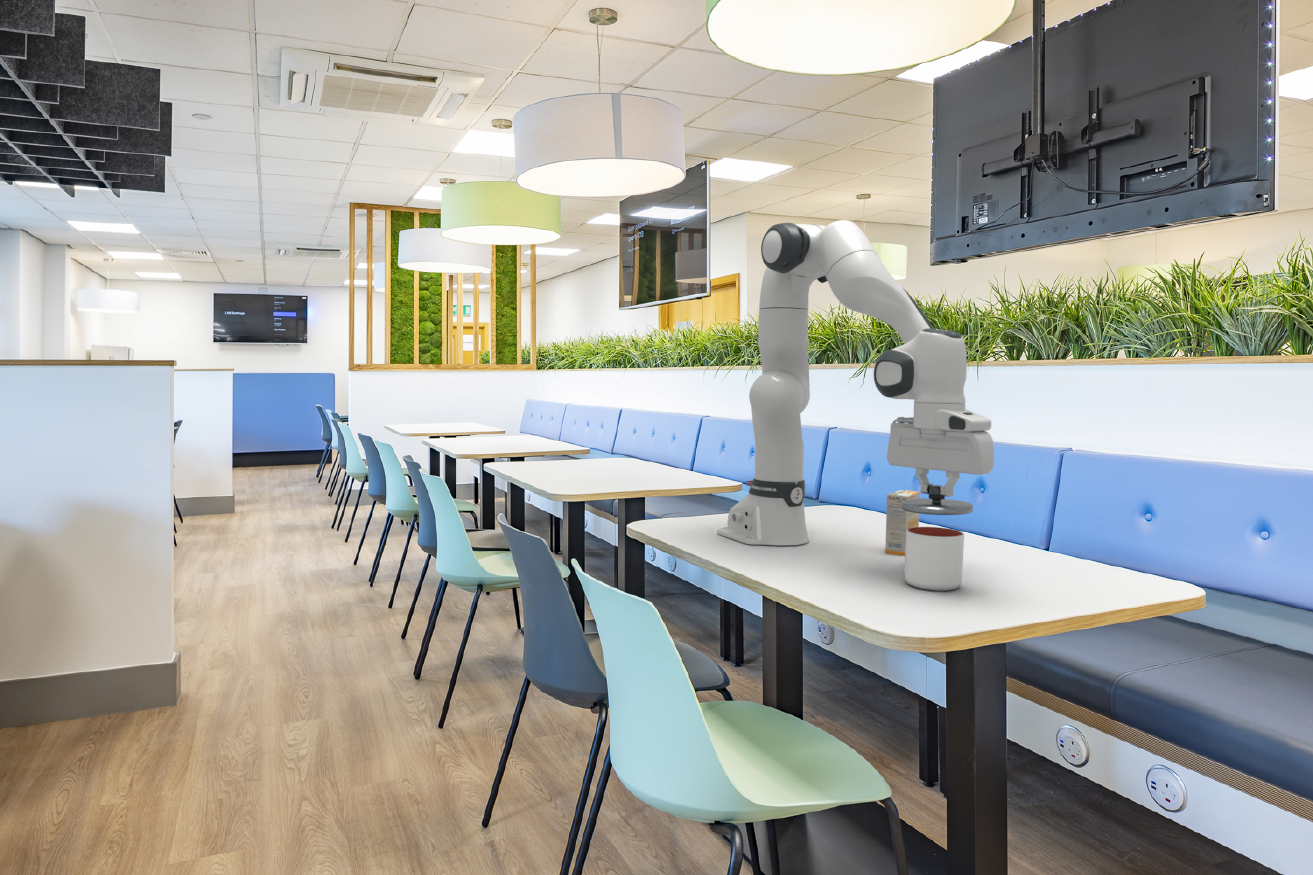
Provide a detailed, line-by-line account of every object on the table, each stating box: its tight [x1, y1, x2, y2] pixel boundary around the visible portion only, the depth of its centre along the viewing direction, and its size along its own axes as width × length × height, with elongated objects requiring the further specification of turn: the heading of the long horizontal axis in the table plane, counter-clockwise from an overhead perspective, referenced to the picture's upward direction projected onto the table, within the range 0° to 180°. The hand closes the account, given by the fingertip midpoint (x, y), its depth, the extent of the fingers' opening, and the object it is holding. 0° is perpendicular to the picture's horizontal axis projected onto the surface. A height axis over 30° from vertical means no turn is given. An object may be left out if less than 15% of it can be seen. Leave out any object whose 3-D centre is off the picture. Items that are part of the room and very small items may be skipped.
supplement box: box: [885, 489, 921, 557], centre depth 183 cm, size 8×5×13 cm, turn 144°
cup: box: [904, 526, 965, 592], centre depth 153 cm, size 10×10×10 cm
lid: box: [901, 484, 974, 516], centre depth 152 cm, size 12×12×4 cm
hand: (936, 494), depth 152 cm, fingers closed on lid, 3 cm apart
